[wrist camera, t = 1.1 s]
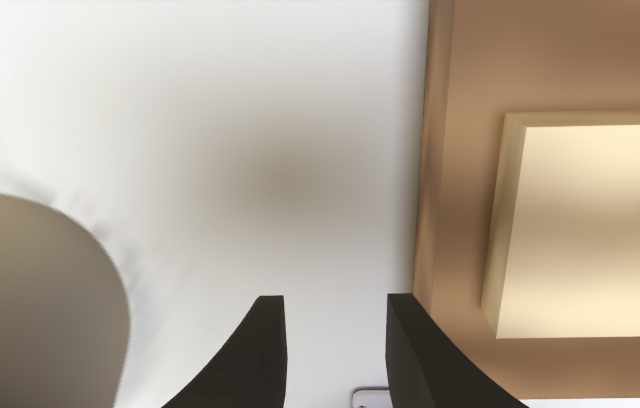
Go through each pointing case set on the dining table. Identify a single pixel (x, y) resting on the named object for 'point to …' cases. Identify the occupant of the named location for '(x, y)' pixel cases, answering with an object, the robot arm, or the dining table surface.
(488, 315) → the birch tile
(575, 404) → the dining table surface
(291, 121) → the dining table surface
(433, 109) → the walnut deck
